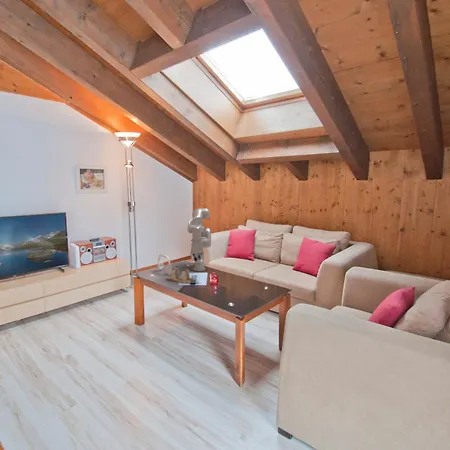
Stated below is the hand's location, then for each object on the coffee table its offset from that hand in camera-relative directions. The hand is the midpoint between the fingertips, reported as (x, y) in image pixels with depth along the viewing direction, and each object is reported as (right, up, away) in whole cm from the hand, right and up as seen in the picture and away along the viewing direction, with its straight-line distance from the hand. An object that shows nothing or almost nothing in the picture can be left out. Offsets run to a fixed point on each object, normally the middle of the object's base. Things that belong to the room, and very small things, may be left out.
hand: (197, 260), depth 291 cm
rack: (-15, -18, 0) cm, 23 cm away
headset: (-33, -14, +22) cm, 43 cm away
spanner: (0, 0, 0) cm, 0 cm away
